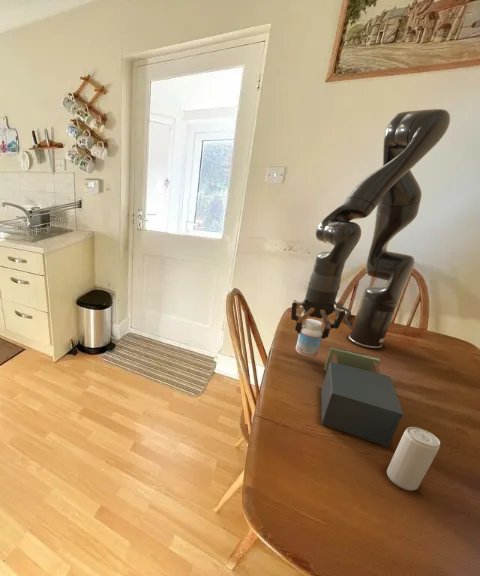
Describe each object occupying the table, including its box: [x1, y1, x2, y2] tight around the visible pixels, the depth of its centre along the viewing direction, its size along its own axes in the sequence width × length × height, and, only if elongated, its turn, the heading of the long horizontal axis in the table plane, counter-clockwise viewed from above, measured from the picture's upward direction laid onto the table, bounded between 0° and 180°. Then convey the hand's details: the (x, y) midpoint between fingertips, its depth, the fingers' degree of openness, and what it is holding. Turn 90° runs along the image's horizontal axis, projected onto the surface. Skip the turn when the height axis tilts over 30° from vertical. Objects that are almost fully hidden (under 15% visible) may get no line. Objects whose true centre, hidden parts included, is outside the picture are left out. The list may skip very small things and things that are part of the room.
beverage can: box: [386, 426, 441, 491], centre depth 61 cm, size 5×5×12 cm
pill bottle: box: [295, 318, 323, 358], centre depth 101 cm, size 6×6×11 cm
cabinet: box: [320, 361, 404, 448], centre depth 78 cm, size 16×13×10 cm
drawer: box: [323, 347, 382, 374], centre depth 89 cm, size 20×11×8 cm, turn 146°
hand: (310, 334), depth 101 cm, fingers closed on pill bottle, 6 cm apart
